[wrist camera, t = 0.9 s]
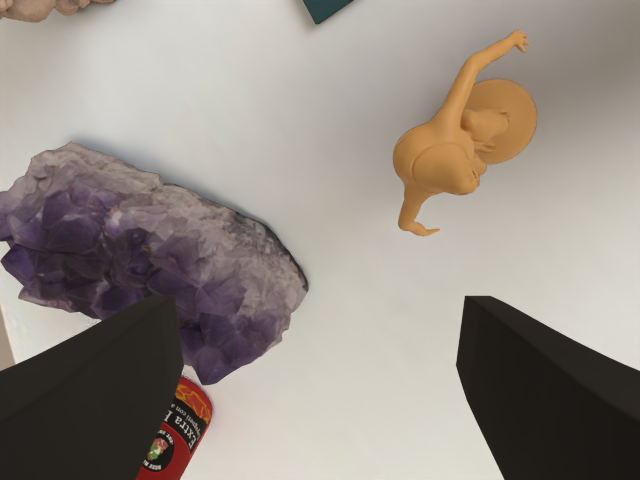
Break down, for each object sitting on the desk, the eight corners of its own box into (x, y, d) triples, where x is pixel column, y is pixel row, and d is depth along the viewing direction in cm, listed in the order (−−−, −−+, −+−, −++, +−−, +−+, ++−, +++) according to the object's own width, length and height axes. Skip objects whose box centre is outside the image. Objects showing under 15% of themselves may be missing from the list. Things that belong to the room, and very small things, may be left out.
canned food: (230, 409, 40) (165, 532, 31) (187, 437, 45) (118, 554, 35) (166, 357, 39) (79, 470, 30) (127, 391, 43) (40, 500, 34)
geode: (335, 206, 28) (289, 323, 20) (300, 318, 35) (256, 435, 27) (42, 107, 29) (-109, 182, 21) (68, 237, 36) (-37, 328, 28)
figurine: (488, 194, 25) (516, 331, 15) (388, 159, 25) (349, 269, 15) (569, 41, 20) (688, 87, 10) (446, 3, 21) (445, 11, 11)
